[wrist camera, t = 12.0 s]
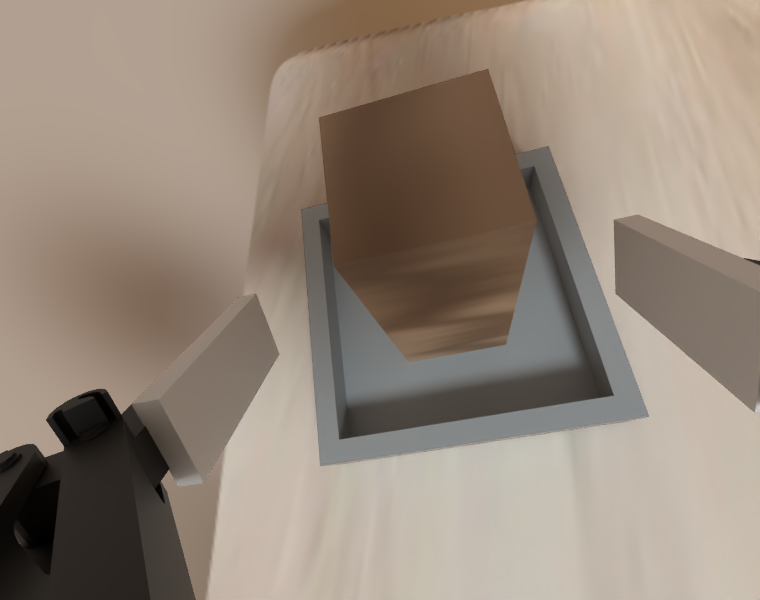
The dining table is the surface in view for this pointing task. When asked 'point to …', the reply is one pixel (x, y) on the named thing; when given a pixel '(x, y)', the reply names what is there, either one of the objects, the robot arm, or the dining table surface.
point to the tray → (474, 368)
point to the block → (430, 215)
